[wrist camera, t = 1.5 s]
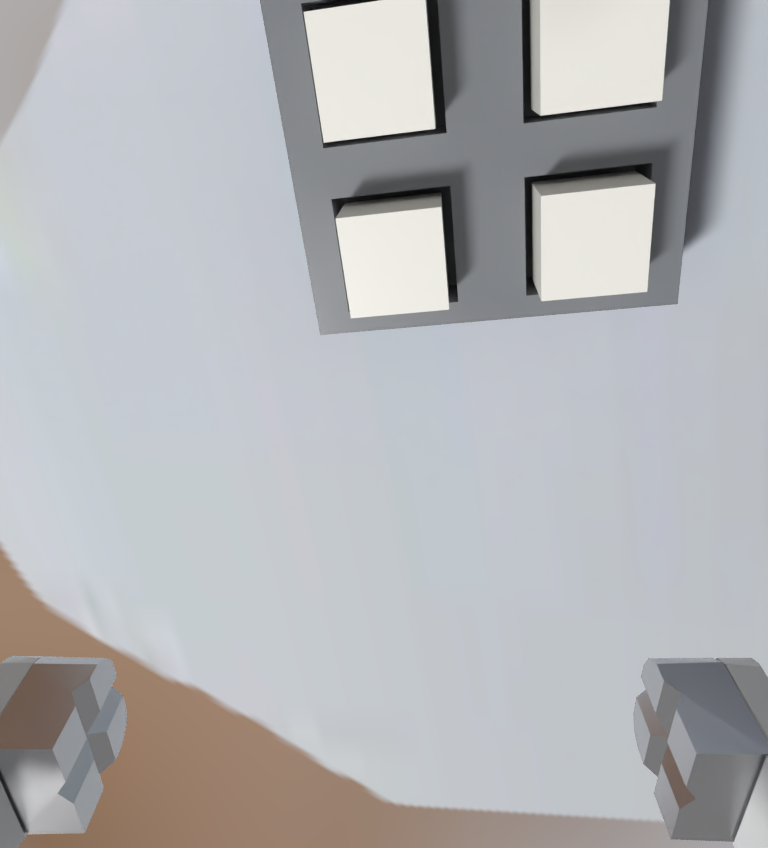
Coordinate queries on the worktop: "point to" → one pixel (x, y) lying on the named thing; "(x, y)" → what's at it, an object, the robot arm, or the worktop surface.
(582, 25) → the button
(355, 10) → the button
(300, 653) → the worktop surface
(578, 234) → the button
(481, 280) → the button board
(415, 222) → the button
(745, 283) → the worktop surface
